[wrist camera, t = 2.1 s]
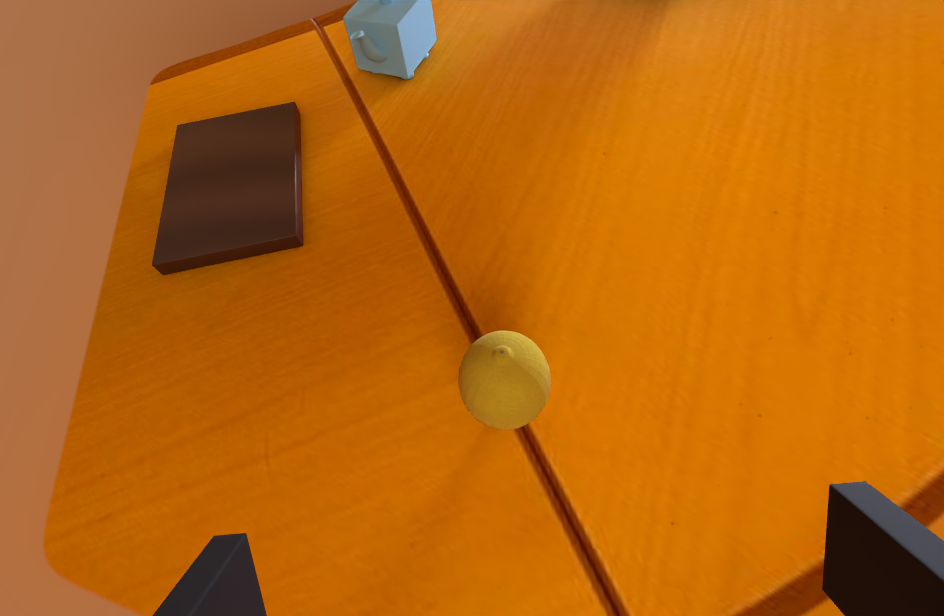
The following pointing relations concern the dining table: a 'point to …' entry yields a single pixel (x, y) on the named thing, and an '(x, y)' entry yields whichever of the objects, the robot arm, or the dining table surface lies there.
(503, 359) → the lemon
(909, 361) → the dining table surface
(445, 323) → the dining table surface
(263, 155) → the cutting board
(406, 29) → the knobbed blue-grey cube
